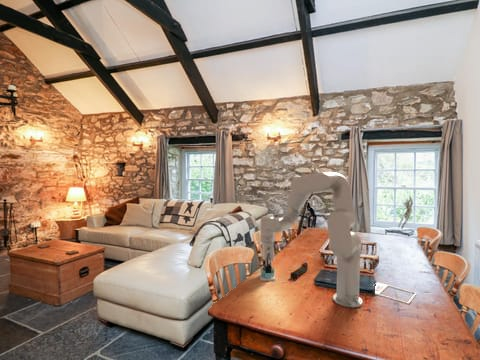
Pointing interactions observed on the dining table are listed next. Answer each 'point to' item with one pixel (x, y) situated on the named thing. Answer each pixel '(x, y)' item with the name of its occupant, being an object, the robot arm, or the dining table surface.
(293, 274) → the dark brown bar
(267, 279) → the grey peg on base
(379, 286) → the photo frame
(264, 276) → the collar
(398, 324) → the dining table surface
